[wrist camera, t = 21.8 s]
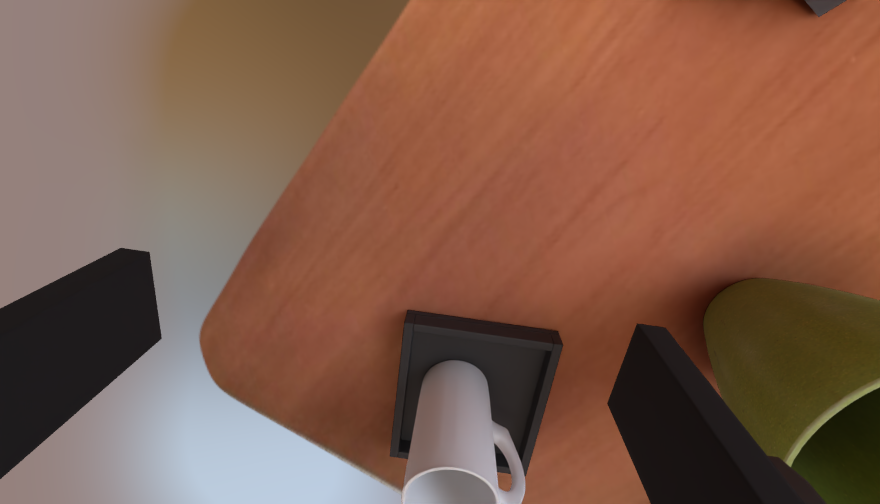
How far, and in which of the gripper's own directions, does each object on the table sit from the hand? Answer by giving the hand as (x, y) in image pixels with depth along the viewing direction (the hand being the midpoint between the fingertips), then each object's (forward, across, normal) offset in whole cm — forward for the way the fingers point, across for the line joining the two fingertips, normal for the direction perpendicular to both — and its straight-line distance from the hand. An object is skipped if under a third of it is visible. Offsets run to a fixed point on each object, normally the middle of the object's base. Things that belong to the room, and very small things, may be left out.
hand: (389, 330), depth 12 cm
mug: (+23, +6, -21) cm, 31 cm away
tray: (+23, +6, -21) cm, 32 cm away
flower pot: (+23, +28, -9) cm, 37 cm away
